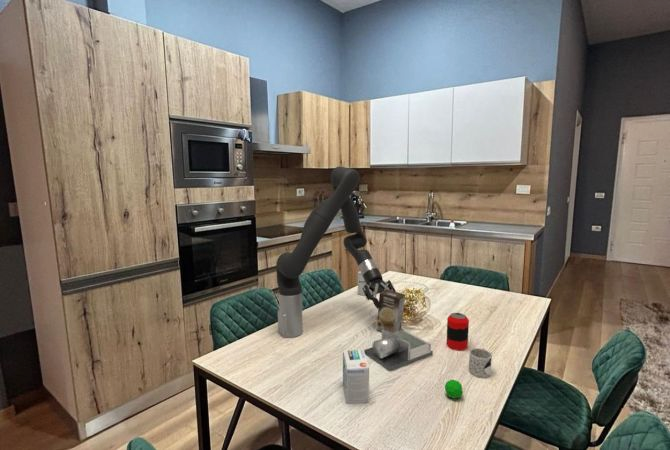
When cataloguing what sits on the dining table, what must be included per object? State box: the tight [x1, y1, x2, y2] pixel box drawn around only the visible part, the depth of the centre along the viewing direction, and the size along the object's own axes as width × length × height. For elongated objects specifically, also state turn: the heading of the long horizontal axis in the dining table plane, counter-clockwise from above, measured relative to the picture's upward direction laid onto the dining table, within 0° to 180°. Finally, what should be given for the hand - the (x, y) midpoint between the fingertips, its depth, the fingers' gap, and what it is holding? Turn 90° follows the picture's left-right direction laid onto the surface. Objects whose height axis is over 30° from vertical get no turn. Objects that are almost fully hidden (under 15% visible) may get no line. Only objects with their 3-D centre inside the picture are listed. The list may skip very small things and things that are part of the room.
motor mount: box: [363, 329, 434, 372], centre depth 127 cm, size 20×14×8 cm
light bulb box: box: [342, 349, 370, 404], centre depth 105 cm, size 11×7×11 cm, turn 5°
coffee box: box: [375, 289, 406, 333], centre depth 146 cm, size 9×6×16 cm
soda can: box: [445, 312, 470, 351], centre depth 133 cm, size 8×8×12 cm
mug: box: [468, 347, 493, 379], centre depth 117 cm, size 10×7×7 cm, turn 148°
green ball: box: [444, 379, 464, 399], centre depth 103 cm, size 5×5×5 cm
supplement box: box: [357, 270, 372, 297], centre depth 192 cm, size 7×7×13 cm
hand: (386, 305), depth 146 cm, fingers closed on coffee box, 7 cm apart
